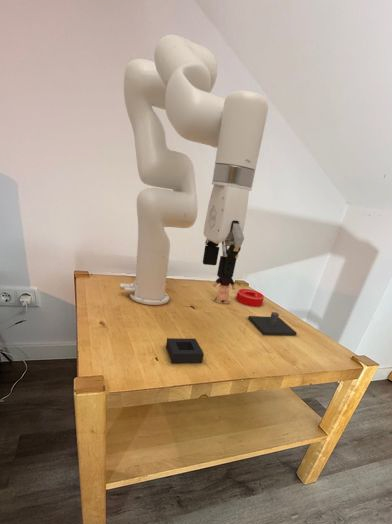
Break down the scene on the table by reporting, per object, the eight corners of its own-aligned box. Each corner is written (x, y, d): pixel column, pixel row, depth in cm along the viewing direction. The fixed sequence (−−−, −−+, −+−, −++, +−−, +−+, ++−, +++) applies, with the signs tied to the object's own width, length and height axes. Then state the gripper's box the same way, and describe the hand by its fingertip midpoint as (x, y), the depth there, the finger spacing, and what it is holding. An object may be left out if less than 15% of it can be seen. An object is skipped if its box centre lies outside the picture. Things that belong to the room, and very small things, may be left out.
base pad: (263, 335, 86) (267, 321, 83) (247, 318, 95) (251, 305, 92) (295, 335, 89) (300, 322, 87) (277, 319, 98) (281, 307, 96)
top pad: (171, 363, 65) (173, 353, 64) (165, 347, 71) (167, 338, 69) (202, 363, 67) (203, 353, 66) (193, 347, 73) (195, 338, 72)
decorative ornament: (232, 295, 112) (234, 287, 111) (256, 297, 115) (258, 289, 113) (240, 305, 104) (243, 296, 103) (265, 307, 107) (268, 299, 105)
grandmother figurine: (228, 299, 107) (235, 264, 101) (232, 304, 104) (241, 268, 98) (208, 299, 104) (215, 263, 98) (212, 303, 101) (220, 266, 95)
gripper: (200, 175, 61) (189, 259, 69) (231, 176, 47) (213, 281, 55) (233, 181, 64) (219, 261, 72) (273, 183, 49) (249, 284, 57)
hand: (216, 270), depth 63 cm, fingers open, 9 cm apart
